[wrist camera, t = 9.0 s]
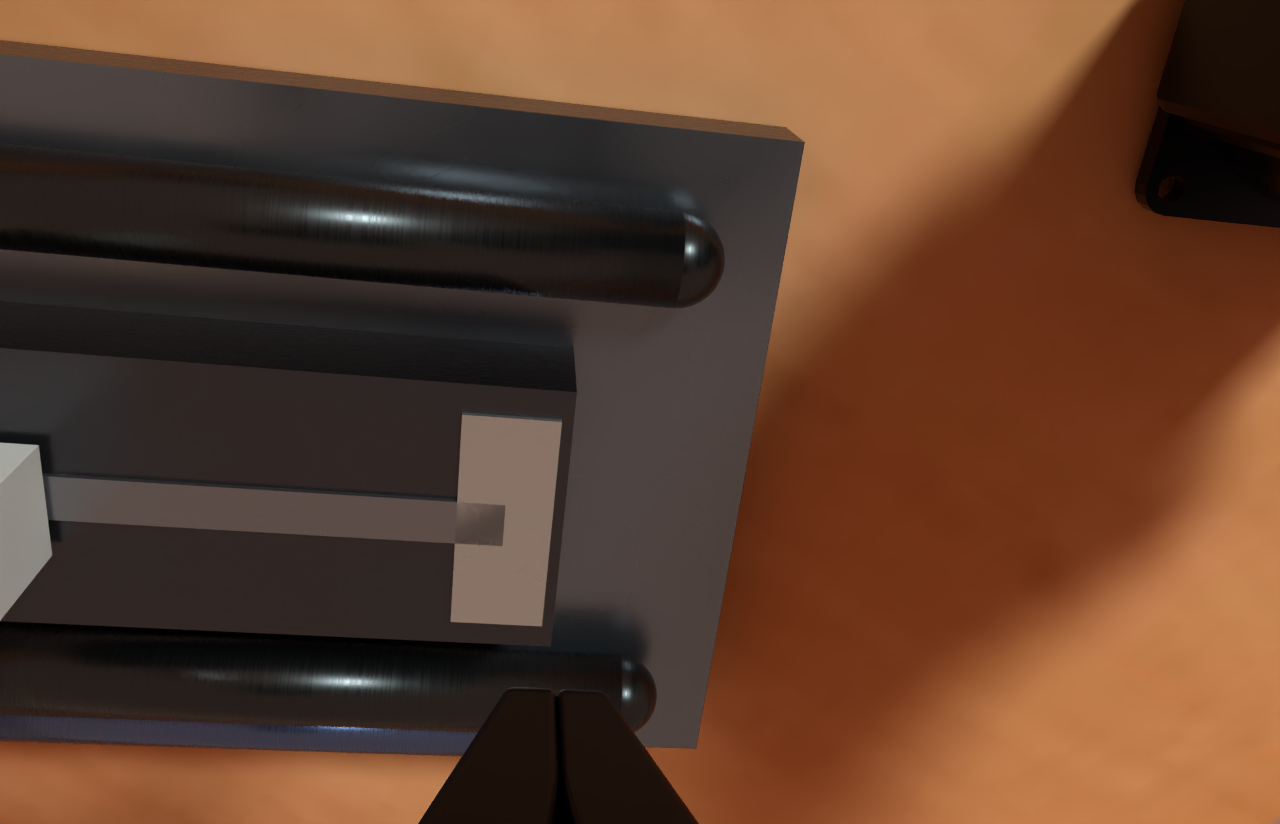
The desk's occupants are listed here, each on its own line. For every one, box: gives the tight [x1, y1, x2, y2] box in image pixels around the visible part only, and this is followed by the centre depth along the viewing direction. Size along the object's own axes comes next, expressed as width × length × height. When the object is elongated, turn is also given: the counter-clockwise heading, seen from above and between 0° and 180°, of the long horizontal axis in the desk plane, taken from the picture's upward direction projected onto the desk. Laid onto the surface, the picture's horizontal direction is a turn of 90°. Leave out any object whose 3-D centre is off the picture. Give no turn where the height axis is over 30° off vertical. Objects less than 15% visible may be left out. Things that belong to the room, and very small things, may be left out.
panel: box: [0, 40, 805, 756], centre depth 19 cm, size 18×13×4 cm
